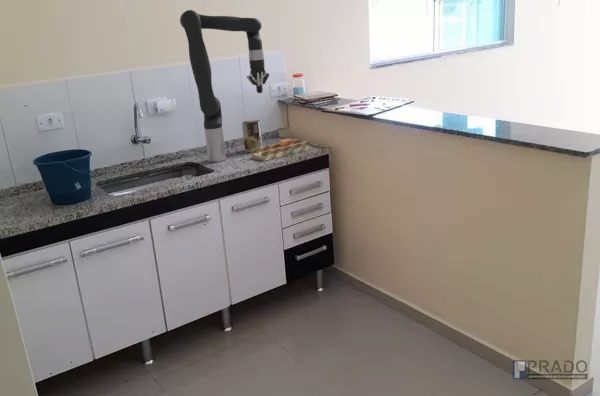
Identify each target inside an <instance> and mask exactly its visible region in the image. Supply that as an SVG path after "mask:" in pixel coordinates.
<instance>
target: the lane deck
mask: <svg viewBox="0 0 600 396" xmlns="http://www.w3.org/2000/svg"><path fill="white" fill-rule="evenodd" d="M292 140H293V145H289V146H285V147H281V148H280V142H277V143H274V144H270V145H266V146H263V147H260V148H256V149H252V150H251V151H252V152H251V157H252V159H255V160H258V161H261V160H262V162H266V161H269V159H270V160H274V159H278V158H281V157H286V156H290V155H293V153H294V154H299V153H303V152H305V151H306V152H307V151H310V150H311V142H310V140H306V141H302V142H300V139H299V138H296V139H292ZM273 158H274V159H273ZM265 160H266V161H265Z"/></svg>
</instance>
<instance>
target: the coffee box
mask: <svg viewBox="0 0 600 396" xmlns="http://www.w3.org/2000/svg"><path fill="white" fill-rule="evenodd" d="M241 125H242V135H243V140H244V141H243V142H244V143H243V144H244V150H245V153H249V152H251V153H252V151H251V150H252V149H256V148H260V147H264V146H263V138H262V129H261V120H259V119H258V120H256V119H255V120H244V121H243V122H242V123H241Z"/></svg>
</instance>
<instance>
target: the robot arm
mask: <svg viewBox="0 0 600 396" xmlns="http://www.w3.org/2000/svg"><path fill="white" fill-rule="evenodd" d="M179 22H180V25H181V27H182V28H183V29H184V32H185V35H186V39H187V44H188V55H189V62H190V66H191V67H190V68H191V71H192V74H193V78H194V82H195V85H196V88H197V91H198V99H199V107H200V111H201V112H202V114H203V119H204V121H203V128H204V135H205V136H204V137H205V145H206V146H205V147H206V154H207V160H208V162H209V163H210V162H211V163H214V162H215V163H217V162H223V161H225V160H227V153H226V147H225V138H224V132H223V130H224V129H223V114H222V106H221V102H220V99H218V97H216V96H215V93H214V89H213V84H212V69H211V63H210V59H209V55H208V51H207V47H206V44H205V41H204V38H203V32H202V30H204V29H207V30H216V31H217V30H218V31H226V32H243V33H244V32H246V37H247V38H246V39H247V45H248V46H247V47H248V61H249V69H250V74H248V75H247V76H246V78H247V79H248V81H249V82H250V83H251V84H252V86H253V85H254V86H255V88H256V93H258V94H262V93H263V91H264V90H263V85H264V84H265V85H266V83H267V80H268V79H269V76H270V73H268V72H267V71H266V69H265V66H266V65H265V56H264V50H263V49H264V48H263V42H262V39H261V36H260V35H261V34H260V31H261V29H262V22H261V21H260V20H259V19H258V18H256V17H239V16H232V15H205V14H199V13H198V12H196V11H195V10H192V9H188V10H185V11H184V12H183V13H182V14H181V15H180V17H179Z"/></svg>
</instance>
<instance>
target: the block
mask: <svg viewBox="0 0 600 396" xmlns="http://www.w3.org/2000/svg"><path fill="white" fill-rule="evenodd" d="M293 140H294V139H290V138H285V139H280V140H279V143H280V148H281V147H285V146H289V145H293Z"/></svg>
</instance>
